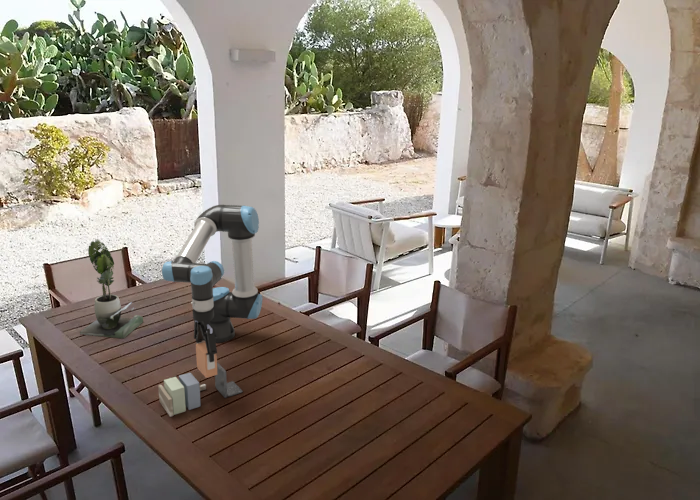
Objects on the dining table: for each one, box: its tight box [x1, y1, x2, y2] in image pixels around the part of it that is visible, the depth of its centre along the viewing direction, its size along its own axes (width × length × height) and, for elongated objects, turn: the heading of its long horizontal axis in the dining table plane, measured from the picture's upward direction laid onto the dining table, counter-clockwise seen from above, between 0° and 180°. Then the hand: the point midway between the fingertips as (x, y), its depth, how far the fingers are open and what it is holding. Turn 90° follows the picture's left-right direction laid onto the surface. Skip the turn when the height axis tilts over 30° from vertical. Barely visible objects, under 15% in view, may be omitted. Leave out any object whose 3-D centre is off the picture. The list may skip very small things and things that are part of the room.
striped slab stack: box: [157, 383, 207, 417], centre depth 216 cm, size 18×12×7 cm, turn 126°
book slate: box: [178, 372, 202, 411], centre depth 215 cm, size 4×9×10 cm, turn 36°
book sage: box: [163, 376, 187, 416], centre depth 212 cm, size 4×9×10 cm, turn 36°
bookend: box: [214, 361, 244, 399], centre depth 224 cm, size 8×9×11 cm
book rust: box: [195, 341, 218, 379], centre depth 216 cm, size 4×9×10 cm, turn 35°
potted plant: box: [79, 238, 144, 339], centre depth 269 cm, size 22×19×45 cm
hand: (206, 363), depth 216 cm, fingers closed on book rust, 9 cm apart
